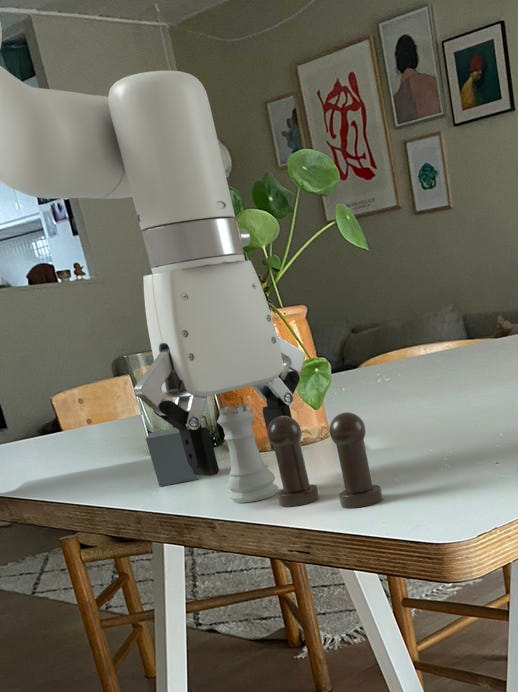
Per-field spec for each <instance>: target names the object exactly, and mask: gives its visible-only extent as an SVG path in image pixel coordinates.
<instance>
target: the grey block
mask: <svg viewBox="0 0 518 692" xmlns="http://www.w3.org/2000/svg"><path fill="white" fill-rule="evenodd" d="M145 441H146V446H147V449H148V452H149V456H150V459H151V463H152V466H153V469H154V470H153V471H154V473H155V476H156V481H157V483H158V487H165V486H171V485H176V484H180V483H186V482H191V481H192V482H193V481H196V480H199V478H200V475H195V474H194V472H193V470H192V468H191V467H190V466H189V464H188V461H187V458H186V454H185V450H184V447H183V443H182V439H181V435H180V432H179V430H176V429H174V428H169V429H165V430H159V431H154V432H149V433H148V434H147V436H146V438H145Z"/></svg>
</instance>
